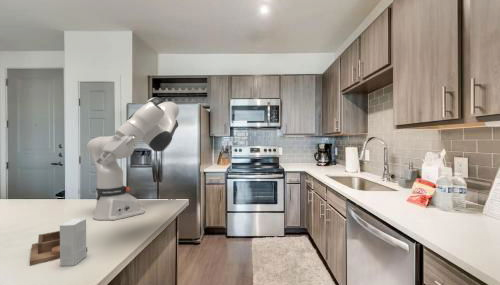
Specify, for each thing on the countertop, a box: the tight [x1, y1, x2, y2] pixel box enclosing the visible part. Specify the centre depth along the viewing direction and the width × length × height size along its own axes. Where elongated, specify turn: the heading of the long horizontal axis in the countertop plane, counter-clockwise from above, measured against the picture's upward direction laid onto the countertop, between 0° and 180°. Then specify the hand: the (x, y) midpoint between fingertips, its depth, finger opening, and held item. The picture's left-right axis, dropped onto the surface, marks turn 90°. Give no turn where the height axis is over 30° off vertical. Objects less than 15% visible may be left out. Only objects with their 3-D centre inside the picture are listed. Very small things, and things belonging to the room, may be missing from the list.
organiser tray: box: [29, 230, 88, 266], centre depth 81 cm, size 14×16×4 cm
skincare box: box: [59, 218, 88, 267], centre depth 73 cm, size 6×4×12 cm
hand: (99, 163), depth 85 cm, fingers open, 8 cm apart
